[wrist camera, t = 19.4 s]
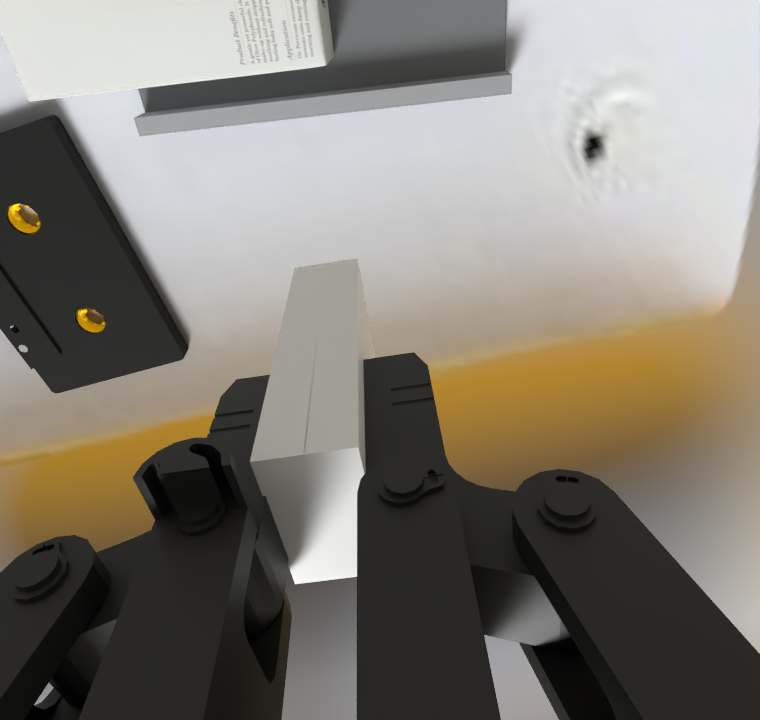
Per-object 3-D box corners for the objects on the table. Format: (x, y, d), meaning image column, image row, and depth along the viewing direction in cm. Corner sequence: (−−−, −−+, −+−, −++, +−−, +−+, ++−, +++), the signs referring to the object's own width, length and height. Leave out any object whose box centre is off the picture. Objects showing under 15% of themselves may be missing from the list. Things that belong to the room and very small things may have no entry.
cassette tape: (-94, 165, 36) (-118, 174, 35) (61, 112, 35) (44, 118, 33) (64, 380, 46) (52, 396, 44) (191, 346, 44) (184, 360, 42)
